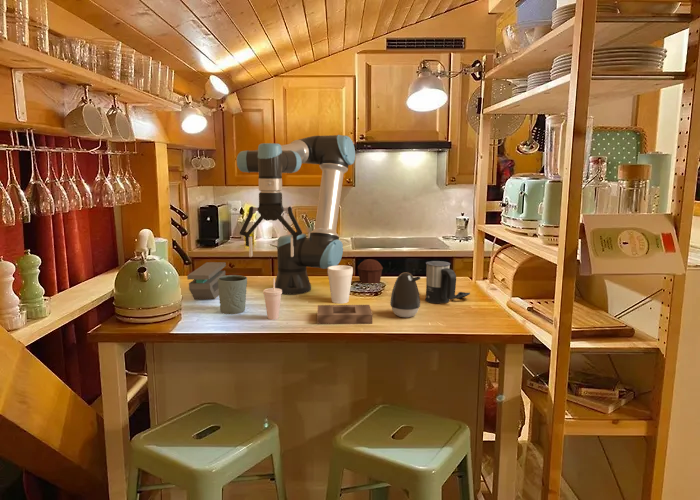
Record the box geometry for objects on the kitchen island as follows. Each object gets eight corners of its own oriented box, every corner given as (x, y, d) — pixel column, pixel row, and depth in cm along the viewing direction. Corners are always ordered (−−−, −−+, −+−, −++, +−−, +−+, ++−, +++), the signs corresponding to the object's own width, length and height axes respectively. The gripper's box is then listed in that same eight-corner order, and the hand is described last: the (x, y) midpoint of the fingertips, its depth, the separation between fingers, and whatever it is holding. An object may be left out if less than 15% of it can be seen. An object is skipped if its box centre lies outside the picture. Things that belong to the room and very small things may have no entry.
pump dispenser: (412, 321, 172) (413, 277, 170) (384, 316, 178) (385, 273, 175) (425, 314, 181) (426, 271, 178) (398, 309, 186) (399, 268, 183)
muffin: (355, 279, 233) (356, 257, 232) (380, 279, 235) (380, 257, 233) (359, 285, 222) (359, 262, 220) (384, 285, 223) (385, 262, 221)
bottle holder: (317, 324, 169) (317, 315, 168) (317, 313, 181) (317, 305, 180) (372, 323, 170) (372, 314, 169) (369, 313, 182) (369, 304, 181)
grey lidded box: (207, 287, 217) (206, 262, 215) (226, 287, 217) (225, 262, 215) (188, 303, 192) (187, 275, 191) (209, 304, 192) (208, 275, 190)
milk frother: (419, 300, 198) (420, 262, 196) (442, 293, 209) (444, 257, 207) (451, 308, 188) (453, 268, 186) (474, 299, 200) (475, 262, 197)
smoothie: (279, 321, 172) (278, 280, 169) (260, 320, 173) (259, 279, 171) (285, 315, 178) (284, 276, 176) (267, 314, 179) (266, 275, 177)
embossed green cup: (216, 308, 186) (215, 276, 184) (244, 305, 190) (243, 273, 188) (221, 316, 177) (220, 282, 175) (250, 313, 181) (249, 279, 179)
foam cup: (356, 299, 199) (356, 266, 197) (346, 305, 191) (346, 271, 188) (334, 297, 203) (334, 264, 201) (323, 302, 195) (323, 268, 192)
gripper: (229, 192, 164) (231, 258, 167) (308, 192, 165) (309, 258, 169) (233, 191, 171) (235, 254, 175) (309, 191, 173) (309, 254, 176)
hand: (271, 256), depth 172 cm, fingers open, 13 cm apart
